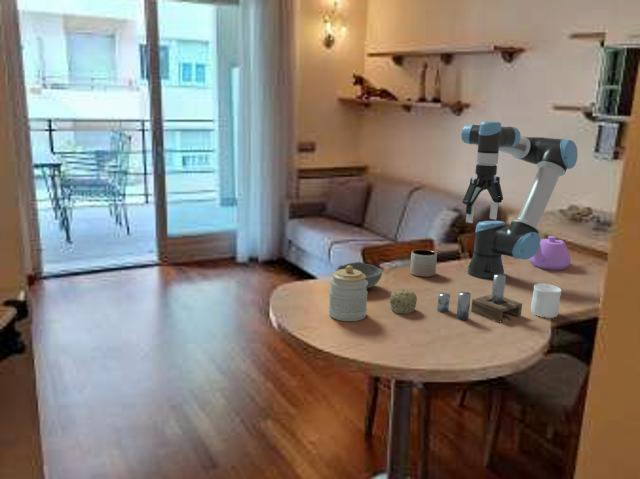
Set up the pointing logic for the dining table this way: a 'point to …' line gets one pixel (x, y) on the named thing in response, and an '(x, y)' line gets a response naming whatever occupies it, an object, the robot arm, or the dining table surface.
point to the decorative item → (403, 301)
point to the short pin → (443, 302)
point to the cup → (545, 300)
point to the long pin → (498, 289)
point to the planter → (423, 263)
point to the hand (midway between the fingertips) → (481, 220)
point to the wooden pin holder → (495, 307)
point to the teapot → (551, 254)
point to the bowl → (366, 272)
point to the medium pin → (463, 306)
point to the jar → (348, 295)
